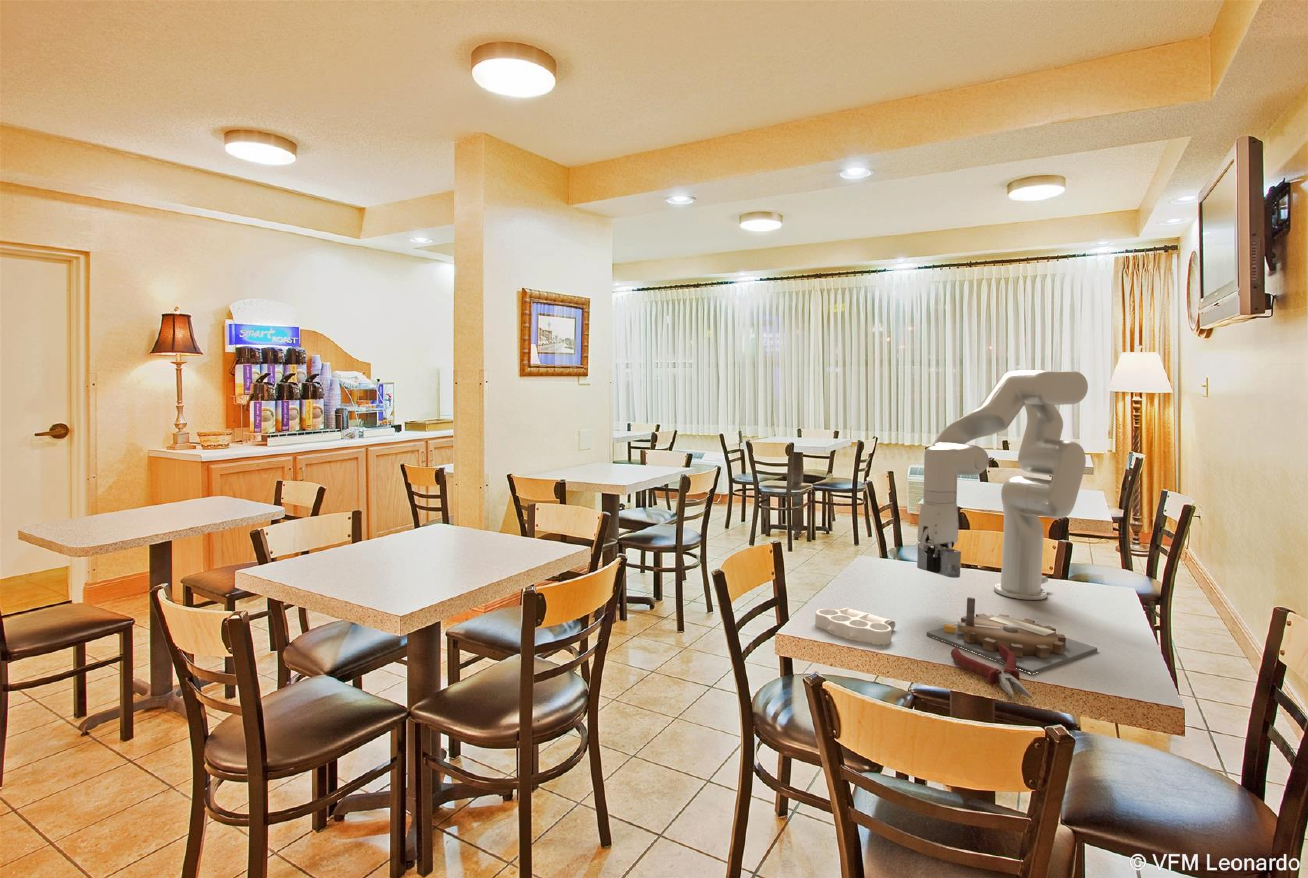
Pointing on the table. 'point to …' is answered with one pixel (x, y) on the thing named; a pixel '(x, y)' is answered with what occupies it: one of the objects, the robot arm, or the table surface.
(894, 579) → the table surface
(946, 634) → the index base plate
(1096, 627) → the table surface
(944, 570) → the chain link
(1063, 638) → the sprocket wheel
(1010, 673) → the pliers
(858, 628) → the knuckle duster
